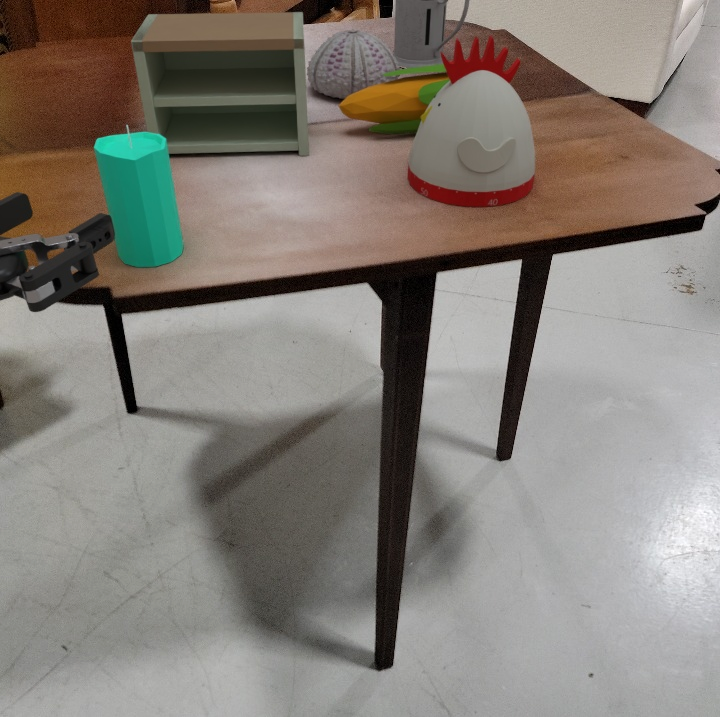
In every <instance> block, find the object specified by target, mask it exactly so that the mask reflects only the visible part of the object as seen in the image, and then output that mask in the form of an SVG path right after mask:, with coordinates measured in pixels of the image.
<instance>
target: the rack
mask: <svg viewBox="0 0 720 717" xmlns="http://www.w3.org/2000/svg"><path fill="white" fill-rule="evenodd" d="M304 27H305V26H304V12H303V11H294V12H293V11H289V12H288V11H287V12H226V13H225V12H223V13H220V12H219V13H218V12H217V13H216V12H215V13H153V14H152V13H151V14H148V15H146V17H145V19H144V21H143V22H142V23H141V25H140V27H139V28H138V29H137V31H136V32H135V34H134V36H133V37H132V38H131V40H130V44H131V49H132V50H131V51H132V54H133V60H134V67H135V71H136V77H137V83H138V88H139V94H140V100H141V105H142V111H143V117H144V122H145V128H146V132H150V133H156V134H160V135H161V136H163V137H165V138H166V141H167V147H168V153H169V155H172V154H173V155H174V154H175V155H176V154H177V155H178V154H211V153H212V154H213V153H216V154H217V153H244V152H245V153H247V152H248V153H249V152H250V153H251V152H255V153H256V152H288V151H289V152H290V151H298V156H301V157H303V156H305V157H307V156H310V147H309V146H310V144H309V124H308V123H309V122H308V99H307V98H308V97H307V96H308V95H307V70H306V50H305V30H304Z"/></svg>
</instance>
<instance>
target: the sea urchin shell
mask: <svg viewBox="0 0 720 717" xmlns="http://www.w3.org/2000/svg"><path fill="white" fill-rule="evenodd" d="M398 64H399V63H398V62H397V60H396V58H395V57H394V51H393V52H392V50H391V47H390V46H388V45H387V44H386V42H385V41H384V40H381V39H380V37H377V36H375V35H374V34H372V33H370V32H368V31H364V30H359V29H350V30H341V31H338V32H335V34H334V33H333V34H332V35H331V36H330V37H329V36H328V37H327V39H326V40H325V41H323V42H322V44H320V47H318V49H316V50H315V52H314V54H313V55H312V56H311V59H310V60H309V61H308V66H307V67H306V77H307V81H308V82H309V86H310V87H312V88H313V89H314V91H317V92H318V93H319V94H324V96H327V97H328V96H329V97H331V98H339V99H340V100H344V99H345V98H346V97H347V96H349V95H351V94H353V93H356V92H358V91H360V90H362V89H365V88H367V87H370V86H373V85H377V84H381V83H385V82H388V81H392V80H396V79H399V77H400V76H401V75H395V76H383V75H382V74H385V73H389V72H393V71H396V70H400V69H401V68H399V67H398Z"/></svg>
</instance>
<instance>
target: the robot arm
mask: <svg viewBox="0 0 720 717" xmlns="http://www.w3.org/2000/svg"><path fill="white" fill-rule="evenodd" d="M33 215H34V211H33V208H32V205H31V201H30V198H29V196H28V194H26V193H22V192H19V191H16V192H13V193H12V194H10V195H8V196H5V197H4V198H1V199H0V302H1V301H3V300H7V299H11V298H12V297H18V298H20V299H22V300H24V301H25V303H26V305H27V307H28V310H29V312H30V313H31V312H32V313H40V312H43V311H45V310H47V309H48V308H49V307H52V306H53V305H55V304H56V303H58V302H60V301H61V300H63V299H64V298H66V297H68V296H70V295H71V294H73V293H74V292H76V291H77V290H79V289H81V288H83V287H84V286H86V285H87V284H89V283H90V282H93V280H95V279H97V278H98V277H99V276H100V273H99V272H100V271H99V268H98V266H97V262H96V259H95V254H97V253H98V252H99V251H101V250H102V249H104V248H105V247H107V246H109V245H110V244H112V243H113V242H115V231H114V227H113V223H112V218H111V216H110V215H109V214H106V213H102V212H99V213H97V214H96V215H94V216H92V217H91V218H89V219H87V220H86V221H84V222H82V223H80V224H79V225H77V226H75V227H74V228H71V229H70V230H69V231H68V233H64V234H63V233H62V234H59V235H54V236H48V237H44V236H42V235H41V234H40V233H32V234H31V233H30V234H26V235H21V236H17V237H6V236H2V235H4V234H5V233H7V232H9V231H10V230H13V229H15V228H16V227H18V226H20V225H22V224H24V223H26V222H27V221H30V220H31V219H32V218H33ZM61 249H63V251H61V252H60V253H58V254H56V255H54V256H52V257H50V258H49V256H48V254H49V252H51V251H57V250H61ZM26 251H32V252H34V254H35V256H36V260H37V263H38V265H36V266H35V265H29V260H28V257H27V254H26ZM74 271H75V272H74ZM73 272H74V273H73Z"/></svg>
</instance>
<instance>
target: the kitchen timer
mask: <svg viewBox="0 0 720 717" xmlns="http://www.w3.org/2000/svg"><path fill="white" fill-rule="evenodd" d="M508 55H509V49H508V47H506V46H504V47H503V48H502V49H501V50H500V52H499V54H497V57H495V39H494V37H493V36H492V35H489V37H488V39H487V42H486V46H485V49H484V52H483V55H482V57H480V56H481V55H480V40H479V37H478V36H477V35H475V36H474V38H473V41H472V45H471V47H470V52H469V55H468V58H466V59H465V55H464V52H463V47H462V44H461V41H460V40H459V38H456V39H455V42H454V51H453V59H452V60H450V61H449V60H448V58H447V57H446V56H445V54H444V52H443V53H442V52H441V58H442V62H443V64H444V67H445V69H446V72H447V74H448V76H449V79H450V81H449V82H448V83H447V84H446V85H444V86H443V87H442V88H441V90H440V91H439V92H438V93H437V94H436V95H435V96H434V98H433V100H432V101H431V103H430V104H429V106H428V107H427V109H426V111H425V113H424V114H423V115H422V116H421V117H420V118H421V123H420V125H419V128H418V131H417V133H415V137H414V140H413V142H412V145H411V148H410V152H409V156H408V162H407V163H408V165H407V181H408V183H409V186H410V187H411V188H412V189H413V190H414V191H416V193H418V194H419V195H422V196H424V197H426V198H428V199H429V200H433V201H435V202H440V203H443V204H446V205H452V206H459V207H468V208H469V207H470V208H472V207H474V208H487V207H496V206H503V205H508V204H510V203H514V202H517V201H519V200H521V199H523V198H525V197H527V196H528V194H529V193H531V191H532V190H533V187H534V181H535V175H536V150H535V149H536V148H535V142H534V136H533V131H532V130H533V129H532V125H531V124H532V123H531V121H530V117H529V113H528V112H527V109H526V107H525V105H524V102H523V101H522V99H521V97H520V96H519V94H518V93H517V91H516V90H515V88H514V87H513V86H512V85H511V82H512V80H513V79H514V77H515V75H516V74H517V72H518V70H519V69H520V68H519V67H520V65H521V60H520V58H516V60H514V61H513V63H512V64H511V66H510V67H509V68H508V69H507V70H504V66H505V63H506V60H507V57H508Z"/></svg>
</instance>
